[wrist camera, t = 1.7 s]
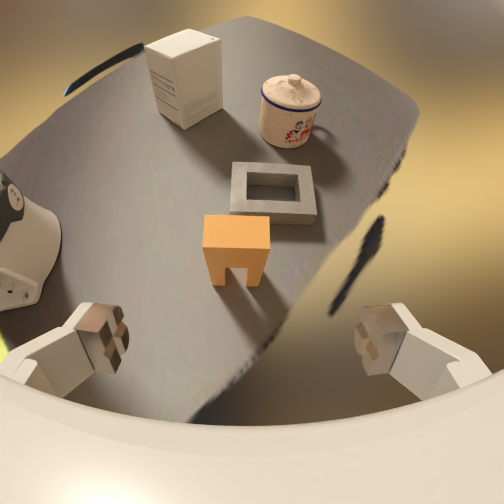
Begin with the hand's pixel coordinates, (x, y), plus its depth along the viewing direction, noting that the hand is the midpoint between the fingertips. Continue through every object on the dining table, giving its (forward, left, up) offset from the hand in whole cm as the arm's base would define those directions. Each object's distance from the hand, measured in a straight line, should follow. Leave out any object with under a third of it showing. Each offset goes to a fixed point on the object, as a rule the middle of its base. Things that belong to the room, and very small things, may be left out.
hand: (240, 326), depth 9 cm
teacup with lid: (+23, +28, -24) cm, 44 cm away
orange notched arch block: (+4, +8, -24) cm, 25 cm away
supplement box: (+9, +40, -24) cm, 48 cm away
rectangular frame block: (+13, +16, -24) cm, 32 cm away
